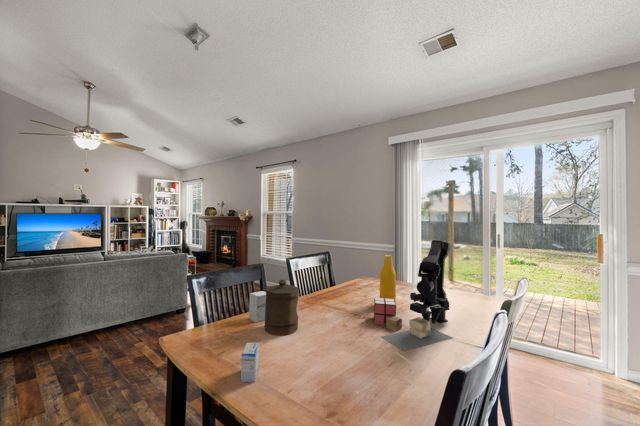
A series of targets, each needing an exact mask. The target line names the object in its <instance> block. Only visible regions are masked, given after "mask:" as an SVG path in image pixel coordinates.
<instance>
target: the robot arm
mask: <svg viewBox="0 0 640 426" xmlns="http://www.w3.org/2000/svg"><path fill="white" fill-rule="evenodd" d="M449 252H451V244H450V243H449V242H448V241H444V240H441V239H433V240H431V242H430V249H429V252H428V254H427V256H425V257H423V258H422V260H421V262H420V263H419V268H418V272H417V277H420V278H421V279H420V281H418V282H417V283H416V284H417V285H416V290H417V292H418V293H416V291H415V292H410V297H409V298H410V301H413V302H412V303H410V304H409V310H410V311H412V312H415V313H416V314H420V315H421V317H422V318H423V319H425V320H428V321H430V320H431V324H433V325H435V324H436V323H439V324H441V323H447V322H449V320H448V319H446V311H450V301H449V300H448V297H447V293H446V291H445V288H444V283H445V282H444V281H445V266H446V265H445V264H446V263H445V262H446V259H447V257H449V254H450V253H449Z"/></svg>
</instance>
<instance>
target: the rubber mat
mask: <svg viewBox="0 0 640 426" xmlns="http://www.w3.org/2000/svg"><path fill="white" fill-rule="evenodd" d="M430 330H431V335H430V336H428V337H425V338H423V339H419V338H417V337H415V336H413V335H411V334H410V329H409V330H405V331H401V332H395V333H391V334H386V335H382V336H380V338H381V339H383V340H385V341H387V342H388V343H389V344H391V345H392V346H395V347H397V348H398V350H399V349H400V350H401V351H403V352H405V351H410V350H413V349H418V348H421V347H425V346H430V345H432V344H436V343H440V342H444V341H448V340H451V339H452V340H453V339H454V337H453V336H450V335H448V334H445V333H444V332H441V331H440V330H437V329H435V328H432V327H430Z"/></svg>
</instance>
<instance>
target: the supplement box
mask: <svg viewBox="0 0 640 426" xmlns="http://www.w3.org/2000/svg"><path fill="white" fill-rule="evenodd" d="M248 304H249V306H248V307H249V308H248V309H249V312H248V315H249V316H248V318H249V319H250V320H251V321H253V322H254V323H259V322H263V321H265V306H266V291H263V290H261V291H255V292H254V291H253V292H250V293H249V303H248Z"/></svg>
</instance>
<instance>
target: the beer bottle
mask: <svg viewBox="0 0 640 426" xmlns="http://www.w3.org/2000/svg"><path fill="white" fill-rule="evenodd" d="M393 263H394V262H393V255H390V254H385V255H384V258H383V265H382V268H381V270H380V272H379V298H384V299H394V300H395V304H396V305H397V294H396V293H397V292H396V291H397V274H396V273H397V272H396V271H395V270H396V269H395V268H394V265H393Z"/></svg>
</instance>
